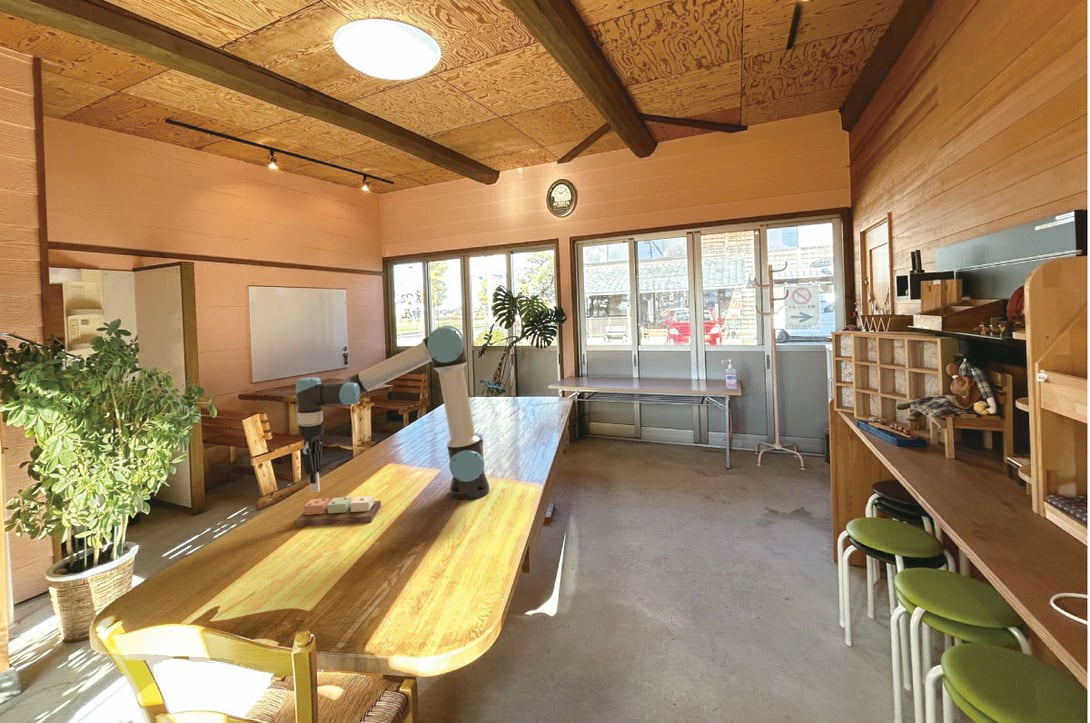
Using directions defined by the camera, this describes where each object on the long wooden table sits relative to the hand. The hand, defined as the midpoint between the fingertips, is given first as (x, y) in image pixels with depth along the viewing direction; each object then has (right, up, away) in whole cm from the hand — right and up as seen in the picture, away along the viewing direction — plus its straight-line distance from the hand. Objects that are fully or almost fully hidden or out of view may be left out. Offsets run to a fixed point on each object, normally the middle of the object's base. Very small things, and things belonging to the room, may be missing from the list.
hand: (315, 491), depth 159 cm
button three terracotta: (0, -7, +1) cm, 7 cm away
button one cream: (+15, -6, +2) cm, 17 cm away
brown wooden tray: (+8, -9, +2) cm, 12 cm away
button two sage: (+8, -7, +1) cm, 10 cm away
